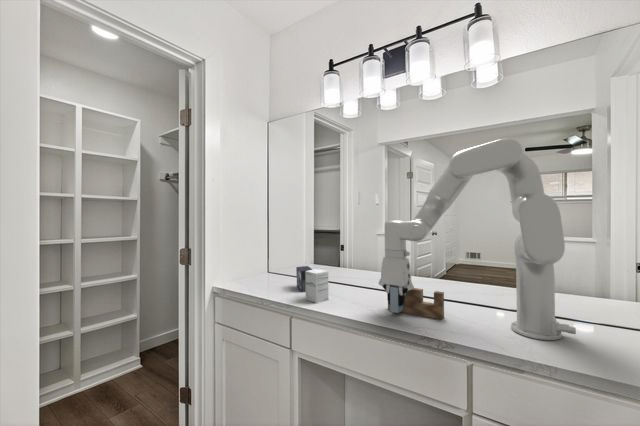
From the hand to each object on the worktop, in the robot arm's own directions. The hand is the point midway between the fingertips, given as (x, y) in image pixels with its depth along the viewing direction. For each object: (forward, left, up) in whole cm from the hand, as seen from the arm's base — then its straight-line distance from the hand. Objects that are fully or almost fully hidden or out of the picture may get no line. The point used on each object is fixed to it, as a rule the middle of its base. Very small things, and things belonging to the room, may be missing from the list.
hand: (395, 303), depth 107 cm
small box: (+51, -10, -4) cm, 52 cm away
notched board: (-5, -6, -4) cm, 9 cm away
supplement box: (+35, +1, -4) cm, 35 cm away
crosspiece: (0, -5, -3) cm, 6 cm away
